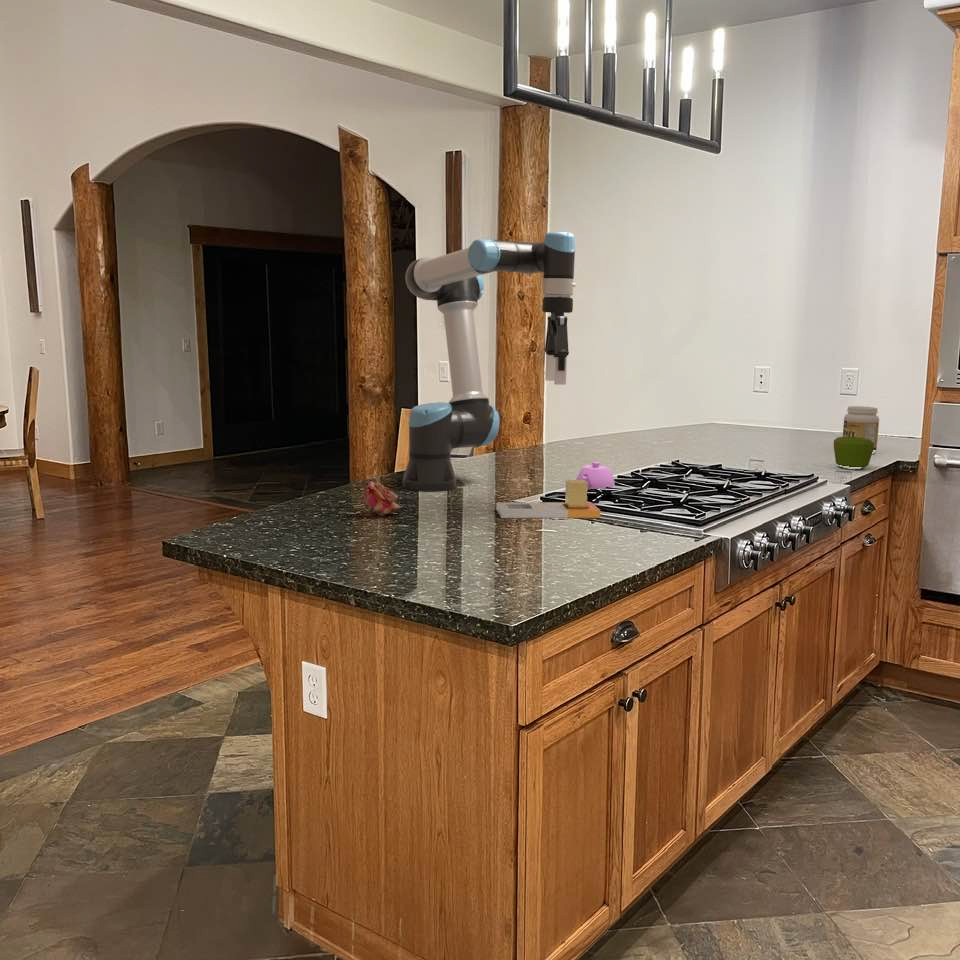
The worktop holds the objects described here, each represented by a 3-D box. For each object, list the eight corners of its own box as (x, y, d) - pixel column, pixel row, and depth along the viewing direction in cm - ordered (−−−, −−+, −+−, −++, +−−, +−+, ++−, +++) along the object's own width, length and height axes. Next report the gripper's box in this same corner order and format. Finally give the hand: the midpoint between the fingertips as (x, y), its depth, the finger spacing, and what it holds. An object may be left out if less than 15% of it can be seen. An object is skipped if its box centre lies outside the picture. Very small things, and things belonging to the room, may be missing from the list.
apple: (879, 470, 320) (882, 436, 318) (850, 472, 316) (853, 437, 314) (852, 464, 332) (855, 431, 330) (823, 466, 327) (826, 432, 325)
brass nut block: (568, 515, 236) (569, 482, 235) (564, 511, 241) (566, 479, 239) (586, 515, 237) (587, 482, 235) (582, 511, 241) (584, 479, 240)
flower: (357, 512, 230) (377, 485, 229) (351, 497, 238) (371, 471, 237) (389, 532, 234) (409, 506, 233) (383, 516, 242) (402, 491, 241)
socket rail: (501, 520, 232) (501, 510, 231) (496, 511, 242) (496, 502, 241) (600, 520, 234) (600, 510, 234) (591, 511, 244) (591, 502, 244)
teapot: (620, 494, 269) (622, 460, 268) (601, 502, 256) (602, 467, 255) (585, 490, 274) (587, 457, 273) (564, 498, 261) (566, 464, 259)
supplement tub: (834, 451, 366) (837, 405, 363) (861, 450, 370) (865, 405, 367) (855, 455, 355) (859, 409, 352) (883, 454, 358) (887, 408, 355)
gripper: (582, 296, 229) (579, 386, 233) (563, 297, 254) (561, 379, 257) (551, 295, 228) (548, 386, 232) (535, 296, 253) (532, 378, 257)
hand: (555, 382), depth 245 cm, fingers open, 13 cm apart
